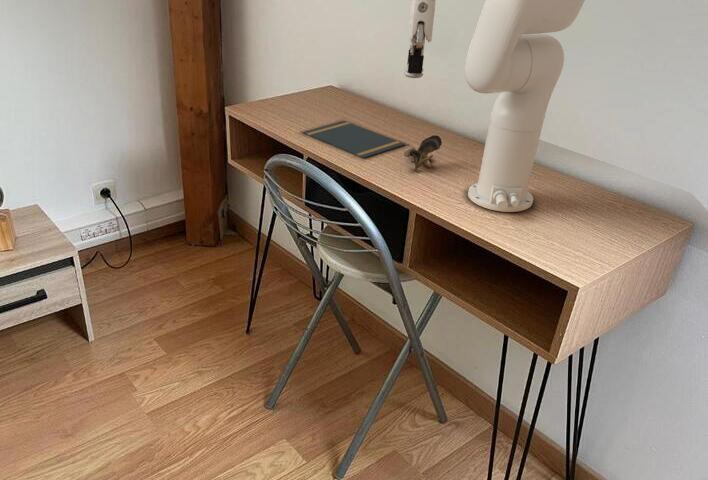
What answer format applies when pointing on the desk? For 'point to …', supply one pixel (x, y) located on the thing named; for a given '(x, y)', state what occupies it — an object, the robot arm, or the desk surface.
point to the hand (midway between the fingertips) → (414, 69)
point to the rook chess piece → (412, 75)
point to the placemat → (354, 139)
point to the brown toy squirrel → (424, 151)
